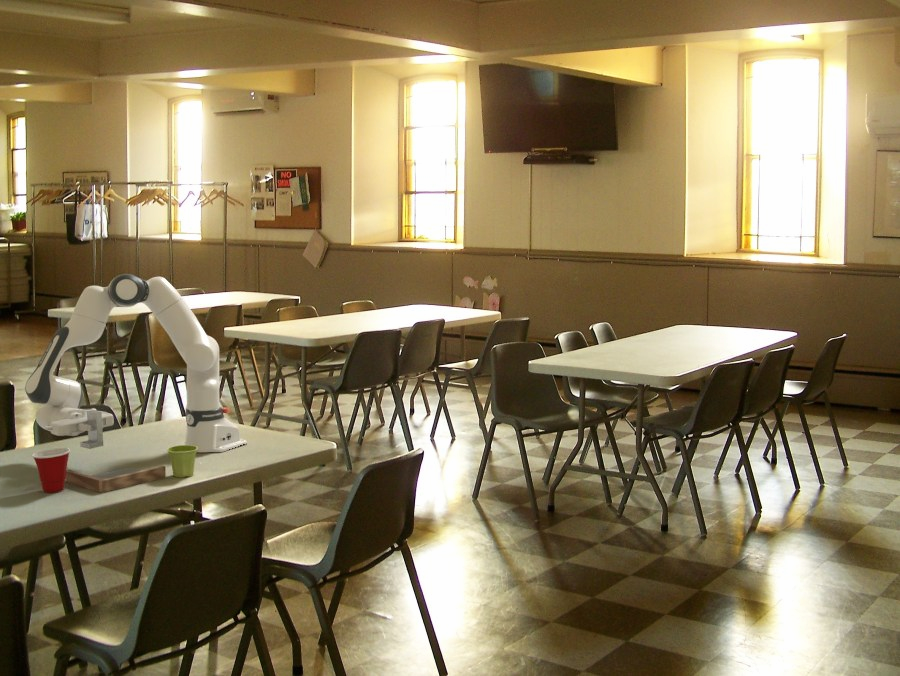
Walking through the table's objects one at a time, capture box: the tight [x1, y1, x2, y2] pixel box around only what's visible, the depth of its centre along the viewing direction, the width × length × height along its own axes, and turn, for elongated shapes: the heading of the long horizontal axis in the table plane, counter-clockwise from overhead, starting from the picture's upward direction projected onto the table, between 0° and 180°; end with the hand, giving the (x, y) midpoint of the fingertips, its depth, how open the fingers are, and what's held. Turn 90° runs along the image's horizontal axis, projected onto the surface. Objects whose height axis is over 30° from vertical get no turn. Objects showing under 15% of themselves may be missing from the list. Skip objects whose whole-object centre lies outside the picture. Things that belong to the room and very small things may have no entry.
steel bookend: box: [79, 410, 104, 450], centre depth 341 cm, size 5×5×11 cm
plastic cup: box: [31, 447, 71, 494], centre depth 320 cm, size 11×11×12 cm
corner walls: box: [65, 465, 167, 493], centre depth 332 cm, size 23×19×4 cm
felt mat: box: [92, 466, 141, 479], centre depth 334 cm, size 20×16×1 cm
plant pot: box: [166, 444, 198, 479], centre depth 338 cm, size 9×9×9 cm
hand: (96, 427), depth 342 cm, fingers closed on steel bookend
